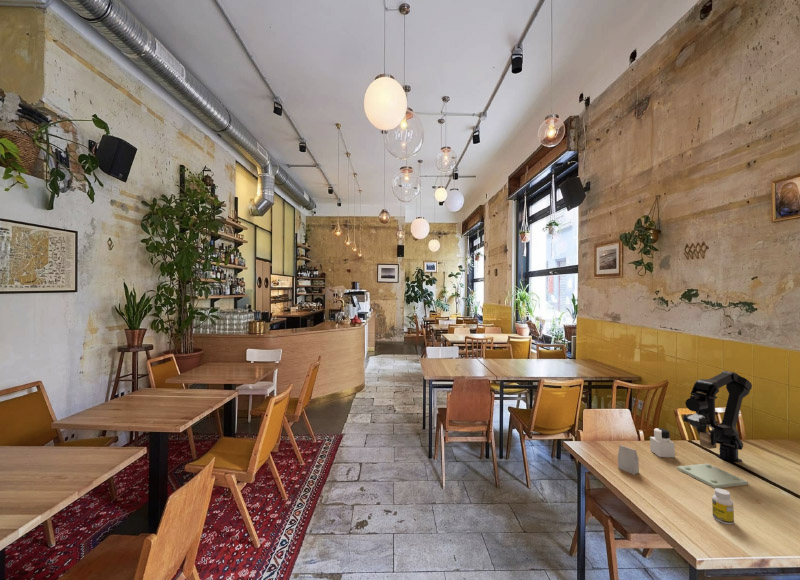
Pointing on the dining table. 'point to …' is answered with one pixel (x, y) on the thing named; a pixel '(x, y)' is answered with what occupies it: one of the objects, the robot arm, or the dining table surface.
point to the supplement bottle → (722, 506)
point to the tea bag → (628, 460)
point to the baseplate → (712, 475)
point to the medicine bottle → (662, 443)
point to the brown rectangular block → (706, 440)
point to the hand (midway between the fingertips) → (708, 443)
